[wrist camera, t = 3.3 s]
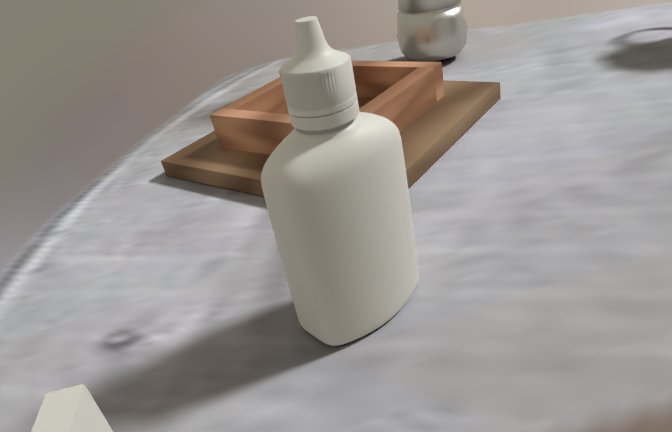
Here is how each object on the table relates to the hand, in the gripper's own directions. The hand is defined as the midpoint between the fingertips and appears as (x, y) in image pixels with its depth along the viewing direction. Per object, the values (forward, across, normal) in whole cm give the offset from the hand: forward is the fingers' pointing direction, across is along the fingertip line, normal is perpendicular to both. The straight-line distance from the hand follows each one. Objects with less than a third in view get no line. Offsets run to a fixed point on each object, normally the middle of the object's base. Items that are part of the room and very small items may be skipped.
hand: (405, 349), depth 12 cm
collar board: (+29, +2, -7) cm, 29 cm away
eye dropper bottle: (+10, 0, -7) cm, 12 cm away
